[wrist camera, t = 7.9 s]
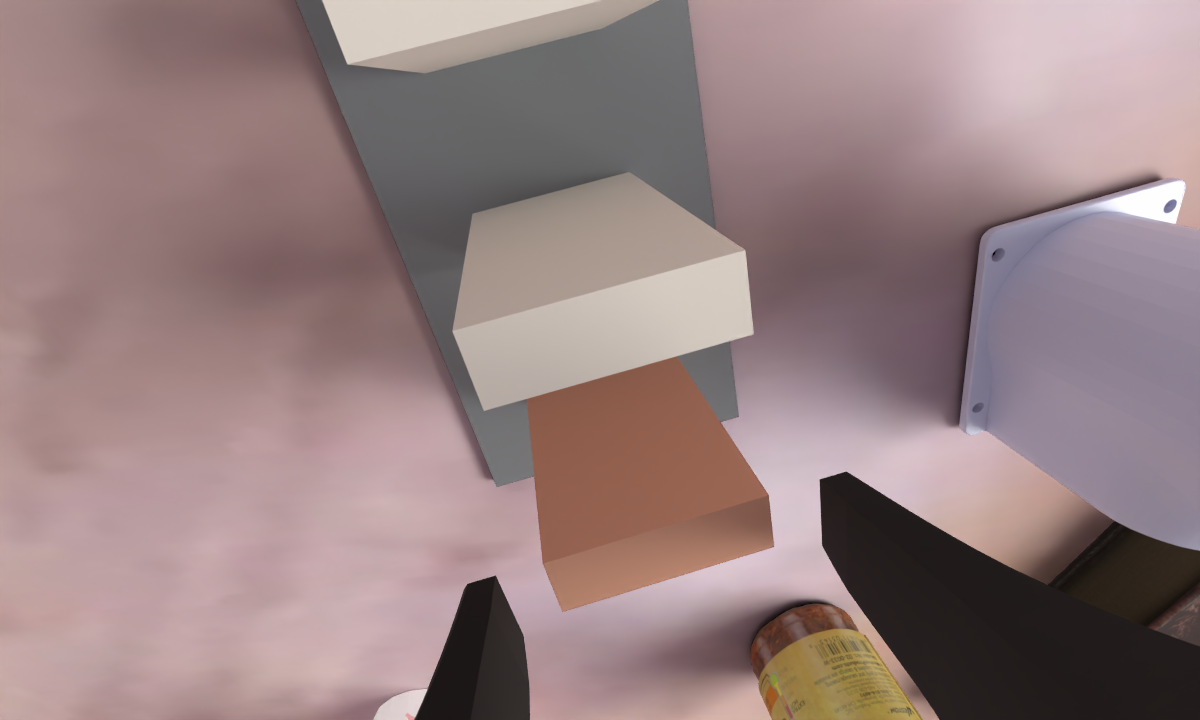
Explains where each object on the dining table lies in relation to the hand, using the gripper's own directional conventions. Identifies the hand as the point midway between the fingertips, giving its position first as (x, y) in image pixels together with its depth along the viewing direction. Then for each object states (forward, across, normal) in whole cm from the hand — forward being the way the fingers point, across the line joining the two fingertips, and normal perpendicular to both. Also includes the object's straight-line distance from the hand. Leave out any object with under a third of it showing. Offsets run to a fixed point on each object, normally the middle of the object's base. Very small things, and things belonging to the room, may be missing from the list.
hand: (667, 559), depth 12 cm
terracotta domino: (+9, 0, 0) cm, 9 cm away
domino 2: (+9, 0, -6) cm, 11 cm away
